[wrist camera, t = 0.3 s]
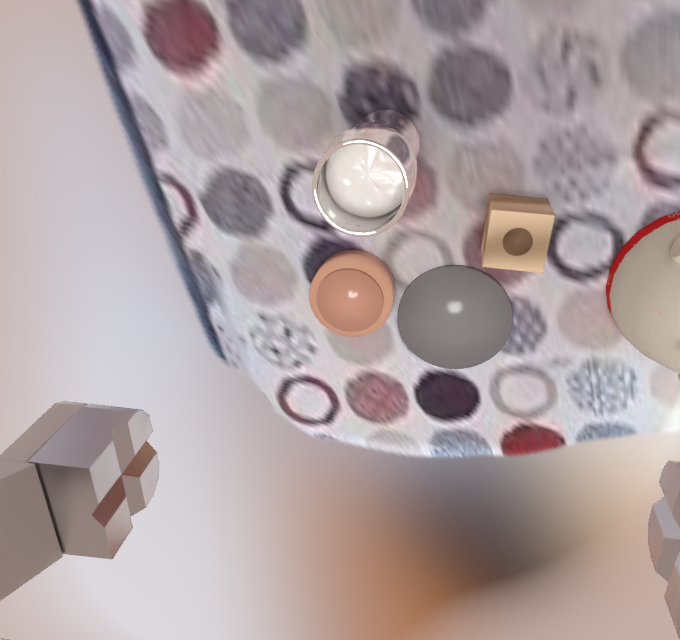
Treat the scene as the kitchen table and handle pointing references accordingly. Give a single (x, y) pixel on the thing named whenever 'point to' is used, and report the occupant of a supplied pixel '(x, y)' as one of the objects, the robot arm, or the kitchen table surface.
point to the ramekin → (352, 293)
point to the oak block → (516, 233)
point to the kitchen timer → (649, 291)
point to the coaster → (455, 317)
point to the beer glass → (368, 174)
